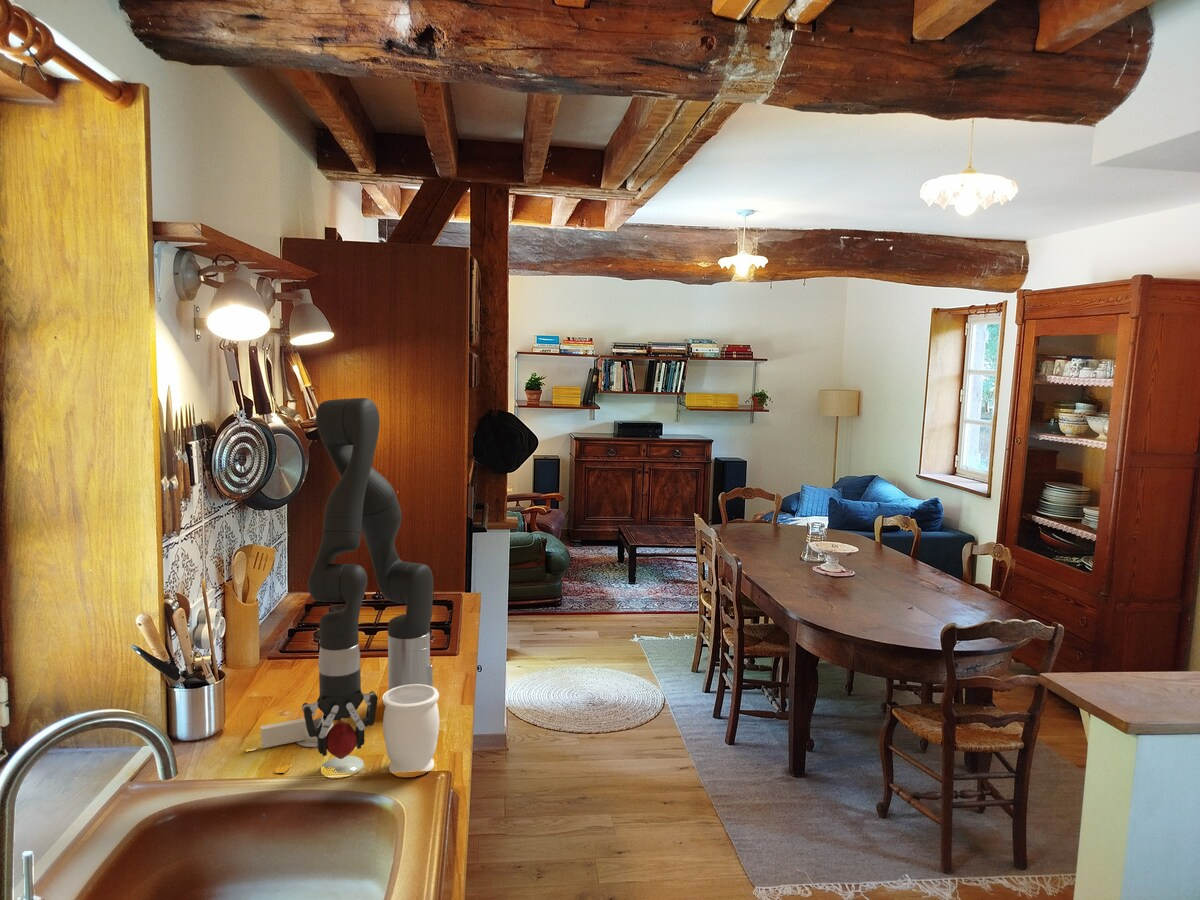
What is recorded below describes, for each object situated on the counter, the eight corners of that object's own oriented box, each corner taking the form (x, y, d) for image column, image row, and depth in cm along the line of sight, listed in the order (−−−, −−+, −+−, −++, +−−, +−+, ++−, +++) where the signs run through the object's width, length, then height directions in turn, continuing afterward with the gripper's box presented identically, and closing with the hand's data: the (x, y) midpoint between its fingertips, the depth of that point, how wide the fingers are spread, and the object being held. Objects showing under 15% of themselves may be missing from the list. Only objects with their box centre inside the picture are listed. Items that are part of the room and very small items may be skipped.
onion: (360, 751, 157) (359, 712, 156) (352, 765, 152) (351, 725, 151) (331, 751, 157) (329, 712, 156) (321, 766, 151) (320, 725, 151)
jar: (395, 788, 148) (394, 710, 146) (375, 764, 156) (374, 691, 154) (448, 771, 154) (448, 697, 152) (426, 749, 162) (425, 679, 161)
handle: (330, 726, 171) (330, 708, 170) (336, 738, 166) (335, 720, 165) (260, 740, 164) (259, 721, 164) (263, 753, 159) (262, 734, 159)
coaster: (358, 754, 160) (358, 752, 160) (367, 772, 153) (367, 770, 153) (317, 763, 156) (317, 761, 156) (324, 782, 149) (324, 780, 149)
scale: (336, 724, 173) (336, 722, 173) (352, 759, 158) (352, 757, 158) (243, 742, 164) (243, 740, 164) (251, 781, 149) (251, 779, 149)
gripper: (302, 680, 146) (305, 767, 148) (382, 667, 152) (383, 751, 154) (297, 666, 152) (299, 750, 154) (373, 654, 159) (374, 734, 161)
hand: (341, 750), depth 154 cm, fingers closed on onion, 6 cm apart
